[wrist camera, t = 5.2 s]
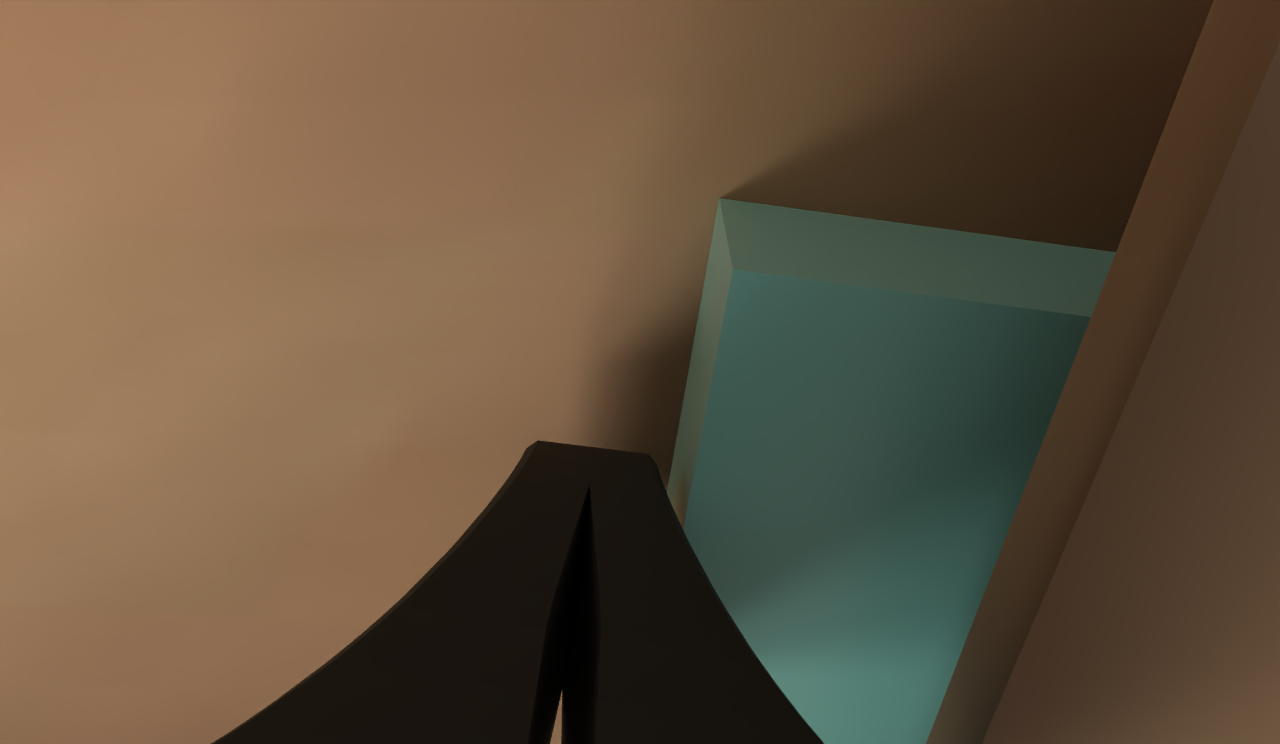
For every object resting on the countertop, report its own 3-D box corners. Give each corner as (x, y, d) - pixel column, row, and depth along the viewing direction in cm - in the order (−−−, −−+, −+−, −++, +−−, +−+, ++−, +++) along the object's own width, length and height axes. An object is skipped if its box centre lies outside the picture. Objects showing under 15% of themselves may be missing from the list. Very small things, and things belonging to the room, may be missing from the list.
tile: (632, 672, 13) (626, 823, 11) (717, 187, 10) (732, 268, 8) (1317, 750, 14) (1438, 909, 12) (1605, 309, 11) (1844, 417, 8)
